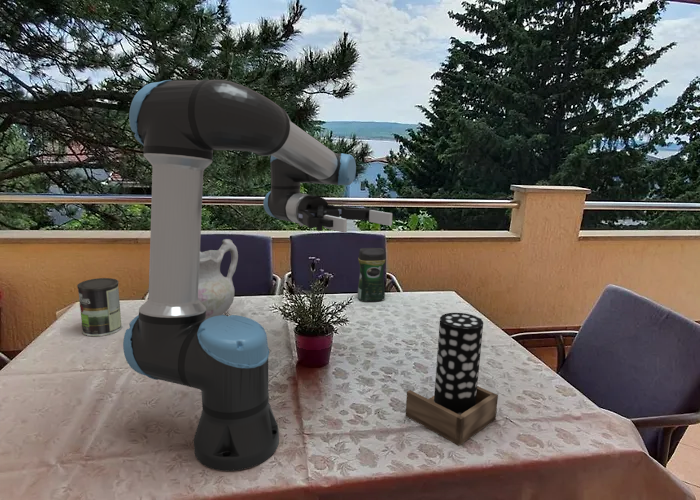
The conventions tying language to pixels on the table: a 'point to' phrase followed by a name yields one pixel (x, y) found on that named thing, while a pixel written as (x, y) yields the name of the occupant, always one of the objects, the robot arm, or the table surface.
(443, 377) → the white-spotted black cylinder
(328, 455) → the table surface
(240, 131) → the robot arm
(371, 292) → the coffee jar
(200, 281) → the ceramic pitcher
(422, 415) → the tray
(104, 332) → the coffee can
